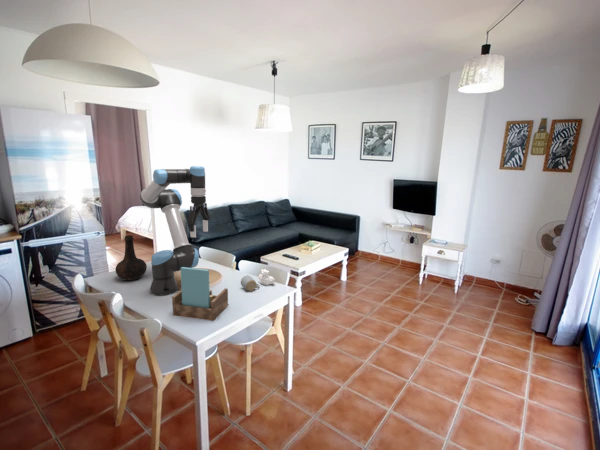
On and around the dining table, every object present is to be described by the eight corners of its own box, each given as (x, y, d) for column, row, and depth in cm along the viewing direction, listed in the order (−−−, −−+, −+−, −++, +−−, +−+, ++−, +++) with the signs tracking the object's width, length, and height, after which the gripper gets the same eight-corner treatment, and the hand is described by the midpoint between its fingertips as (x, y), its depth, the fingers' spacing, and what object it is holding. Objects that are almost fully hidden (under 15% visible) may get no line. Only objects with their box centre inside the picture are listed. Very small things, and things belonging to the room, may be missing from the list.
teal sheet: (182, 313, 157) (180, 268, 152) (184, 312, 158) (182, 267, 153) (208, 317, 154) (207, 270, 149) (210, 315, 156) (209, 269, 151)
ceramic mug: (246, 292, 187) (246, 280, 185) (240, 288, 193) (240, 276, 191) (261, 289, 193) (262, 277, 191) (255, 284, 199) (255, 273, 198)
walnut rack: (172, 318, 155) (171, 297, 153) (191, 302, 172) (190, 283, 170) (214, 323, 151) (213, 302, 149) (229, 306, 169) (228, 287, 166)
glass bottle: (127, 285, 191) (123, 241, 185) (110, 279, 200) (106, 236, 194) (153, 276, 206) (150, 235, 200) (136, 271, 215) (133, 231, 209)
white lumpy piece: (258, 285, 204) (251, 275, 196) (263, 275, 208) (257, 265, 200) (273, 289, 198) (267, 279, 190) (278, 279, 202) (273, 269, 195)
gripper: (192, 198, 155) (194, 240, 159) (215, 193, 179) (216, 229, 183) (178, 198, 156) (180, 239, 161) (203, 192, 180) (204, 228, 185)
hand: (199, 234), depth 172 cm, fingers open, 13 cm apart
